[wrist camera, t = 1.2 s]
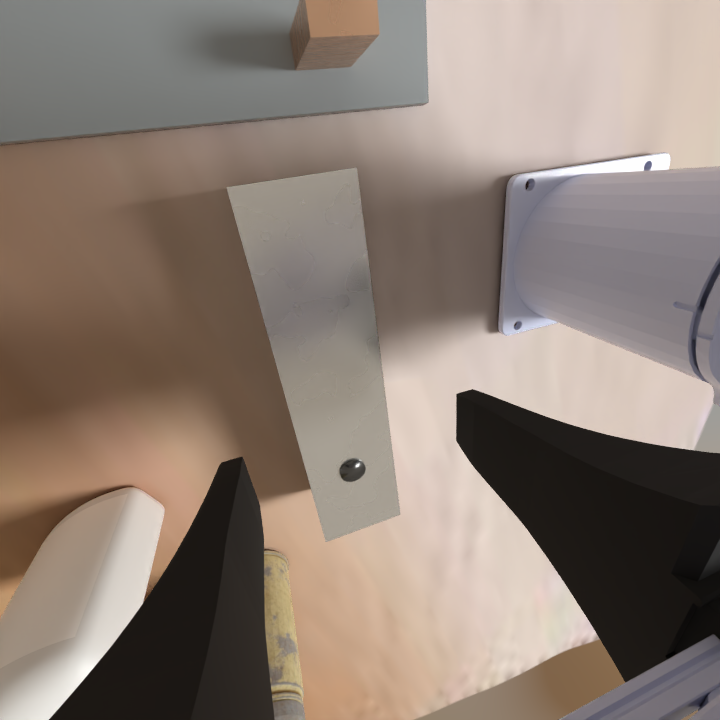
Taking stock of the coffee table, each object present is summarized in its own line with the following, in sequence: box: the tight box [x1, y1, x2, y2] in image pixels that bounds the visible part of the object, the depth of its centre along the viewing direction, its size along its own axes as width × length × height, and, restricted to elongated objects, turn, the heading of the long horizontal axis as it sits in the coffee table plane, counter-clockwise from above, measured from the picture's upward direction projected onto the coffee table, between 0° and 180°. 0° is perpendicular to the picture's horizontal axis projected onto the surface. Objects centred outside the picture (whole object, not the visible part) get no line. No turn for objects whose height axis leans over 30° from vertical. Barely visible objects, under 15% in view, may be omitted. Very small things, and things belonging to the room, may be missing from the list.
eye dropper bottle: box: [0, 487, 165, 720], centre depth 13 cm, size 4×6×12 cm
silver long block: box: [226, 167, 400, 542], centre depth 16 cm, size 16×4×4 cm, turn 8°
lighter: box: [264, 550, 305, 720], centre depth 17 cm, size 7×4×10 cm, turn 101°
